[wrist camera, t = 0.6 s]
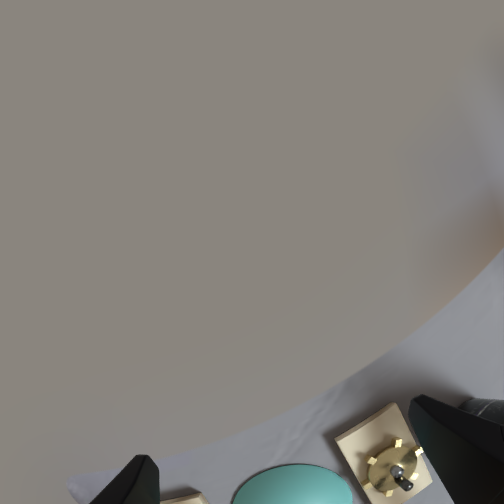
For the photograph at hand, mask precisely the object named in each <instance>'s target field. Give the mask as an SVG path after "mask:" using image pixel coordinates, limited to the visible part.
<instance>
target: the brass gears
mask: <svg viewBox="0 0 504 504" xmlns="http://www.w3.org/2000/svg"><path fill="white" fill-rule="evenodd" d="M422 452H423V450H422V448H421V447H420V446H418V445H415V446H414V447H413V448H409V447H407V446H405V445H402V439H401V438H399V437H395V438H392V439H391V445H390V446H387V447H385V448H383V449H382V450H380V451H379V452H378V453H377V454H376V455H375V456H372V455H369V454H367V455H366V457H365V458H364V460H365V461H366V462H367V463H369V465H368V467H367V473H366V474H367V479H365V480H363V481H362V482H360V483H361V485H362V487H363V488H364V489H365V490H367V489H369V488H371V487H372V486H373V487H374V488H376V489H378V490H381V491H383V492H382V493H383V494H384V495H385V496H386V497H388V496H392V493H393V489H396V488H398V487H401V488H402V489H403V490H404V491H406V492H407V491H410V490H411V489H412V488H413V486H414V484H413V483H412V482H410V481H409V479H410V478H411V479H414V480H415V479H416V478H417V476H418V475H419V474H417V473H416V472H414V471H415V469H416V466H417V456H418V455H419V454H421V453H422Z"/></svg>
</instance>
